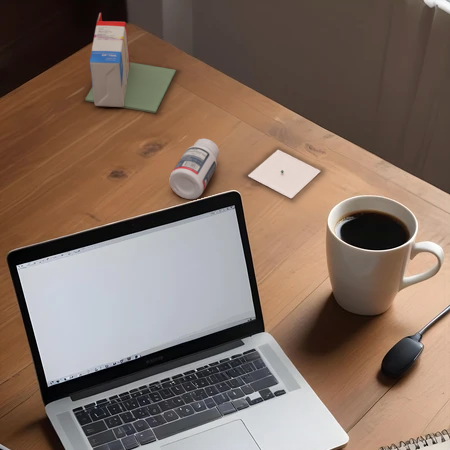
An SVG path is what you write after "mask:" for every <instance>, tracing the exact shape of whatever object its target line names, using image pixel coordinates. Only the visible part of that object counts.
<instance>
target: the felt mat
mask: <svg viewBox="0 0 450 450" xmlns="http://www.w3.org/2000/svg"><path fill="white" fill-rule="evenodd" d="M129 62H130V67H129V73H128V79H127V86H126V93H125V100H124V107H122V108H123V109H129V110H134V111H135V110H136V111H140V112H146V113H152V114H157V112H158V111H159V108H160V105H161V103H162V101H163V100H164V97H165V96H166V93H167V91H168V90H169V87H170V85H171V83H172V81H173V79H174V77H175V74H176V72H177V70H176V69H173V68H167V67H160V66H155V65H151V64H150V65H149V64H145V63H137V62H131V61H129ZM84 100H85V102H89V103H94V95H93V87H91V88H90V90H89V92H88V94H87V95H86V97H85V99H84Z"/></svg>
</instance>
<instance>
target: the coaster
mask: <svg viewBox="0 0 450 450" xmlns="http://www.w3.org/2000/svg"><path fill="white" fill-rule="evenodd" d="M321 172H322V170H320V169H318V168H317V167H314V166H312V165H310V164H308V163H306V162H304V161H302V160H300V159H299V158H296V157H294V156H292V155H290V154H288V153H286V152H284V151H281V150H280V149H277V150H276V151H275V152H273V153H272V154H271V155H270V156H269V157H268V158H266V159H265V160H264V161H263V162H262V163H261V164H260V165H258V166H257V167H256V168H255V169H254V170H253V171H251V172H250V173H249V174H248V175H247V176H248V177H249V178H251V179H252V180H255V181H257V182H259V183H260V184H262V185H264V186H266V187H268V188H270V189H272V190H273V191H276V192H277V193H279V194H281V195H283V196H285V197H287V198H289V199H293V198H294V197H295V196H296V195H297V194H298V193H299V192H300V191H302V189H303V188H305V187H306V186H307V185H309V183H311V181H313V179H314V178H315V177H316V176H318V174H319V173H321Z"/></svg>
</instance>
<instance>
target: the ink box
mask: <svg viewBox="0 0 450 450" xmlns="http://www.w3.org/2000/svg"><path fill="white" fill-rule="evenodd" d="M93 35H94V36H93V41H92V46H91V52H90V57H89V68H90V69H89V70H90V78H91V85H92V87H93V95H94V102H93V103H94V106H95V107H110V108H111V107H112V108H123V107H124V100H125V93H126V86H127V79H128V73H129V67H130V62H131V61H130V51H129V42H128V31H127V22H125V21H115V20H114V21H113V20H112V21H110V20H109V21H107V20H105V21H103V17H102V12H99V13H98V17H97V20H96V25H95V30H94V34H93ZM92 87H91V88H92Z"/></svg>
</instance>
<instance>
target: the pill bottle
mask: <svg viewBox="0 0 450 450" xmlns="http://www.w3.org/2000/svg"><path fill="white" fill-rule="evenodd" d="M219 155H220V149H219V147H218V145H217V144H216V143H215V141H213V140H212V139H211V140H210V139H208V138H199V139H197V140H196V141H195V143H194V144H193V145H192V146H190V147H188V148H187V149H186V150H185V151H184V152H183V154H182V156H181V157H180V158H179V160H178V162H177V163H176V165H175V167H174V168H173V169H172V172H171V173H170V175H169V178H168V183H169V186H170V189H171V190H172V191H173V192H174V193H175V194H176V195H177V196H179V197H181V198H183V199H185V200H196V199H198V198H199V197H200V196H202V194H203V193H204V191H205V189H206V187H207V186H208V184H209V183H210V180H211V179H212V177H213V175H214V174H215V172H216V169H217V167H218V164H217V162H218V161H217V159H218V158H219Z"/></svg>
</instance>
